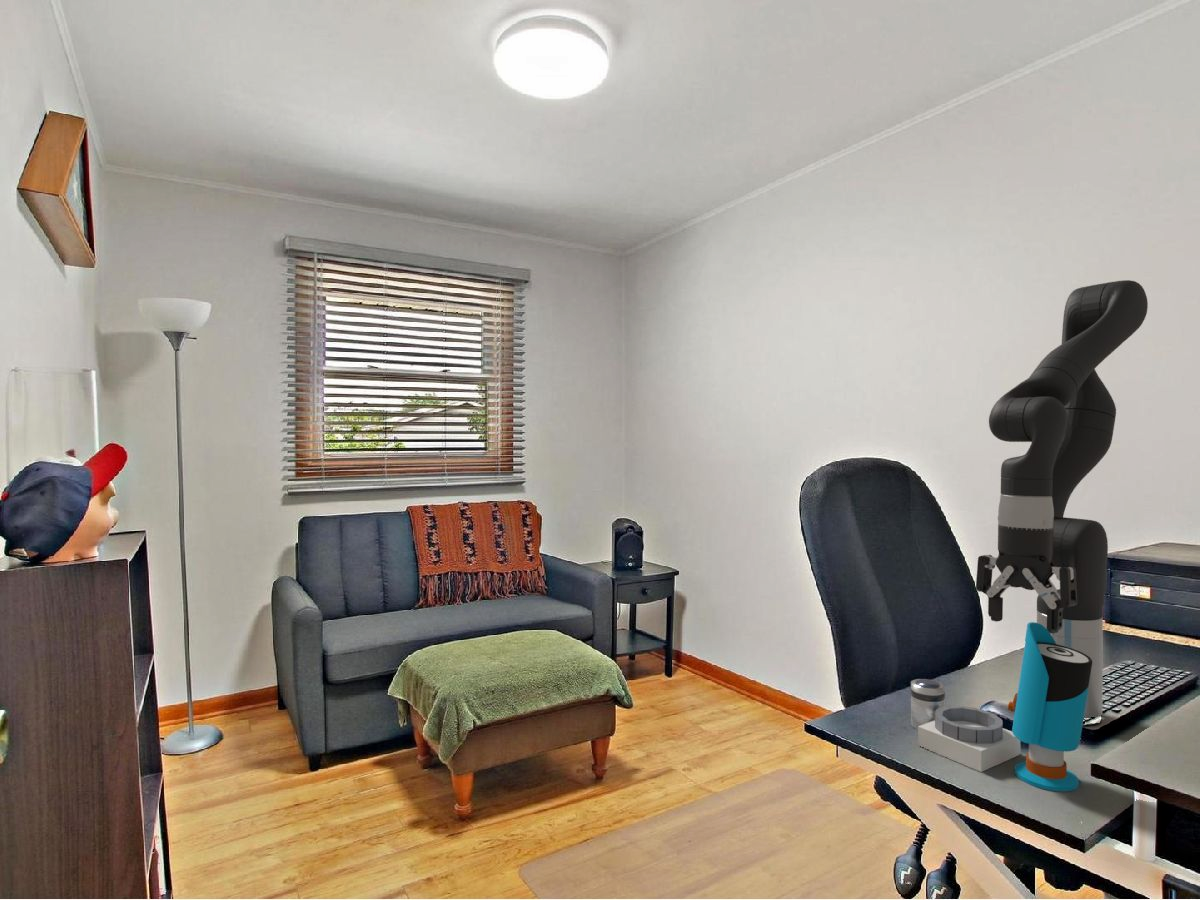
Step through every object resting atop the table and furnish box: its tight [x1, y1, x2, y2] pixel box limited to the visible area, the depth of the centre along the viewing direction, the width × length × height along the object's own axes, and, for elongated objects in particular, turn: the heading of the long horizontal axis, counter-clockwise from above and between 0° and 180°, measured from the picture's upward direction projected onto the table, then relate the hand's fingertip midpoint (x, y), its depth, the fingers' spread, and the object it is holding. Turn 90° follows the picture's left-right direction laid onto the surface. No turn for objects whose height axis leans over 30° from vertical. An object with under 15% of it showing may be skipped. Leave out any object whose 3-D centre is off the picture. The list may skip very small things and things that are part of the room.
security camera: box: [1007, 621, 1092, 792], centre depth 99 cm, size 8×21×10 cm
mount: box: [917, 705, 1021, 773], centre depth 108 cm, size 10×10×5 cm
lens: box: [910, 678, 946, 731], centre depth 116 cm, size 5×5×7 cm
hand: (1023, 626), depth 113 cm, fingers open, 8 cm apart
